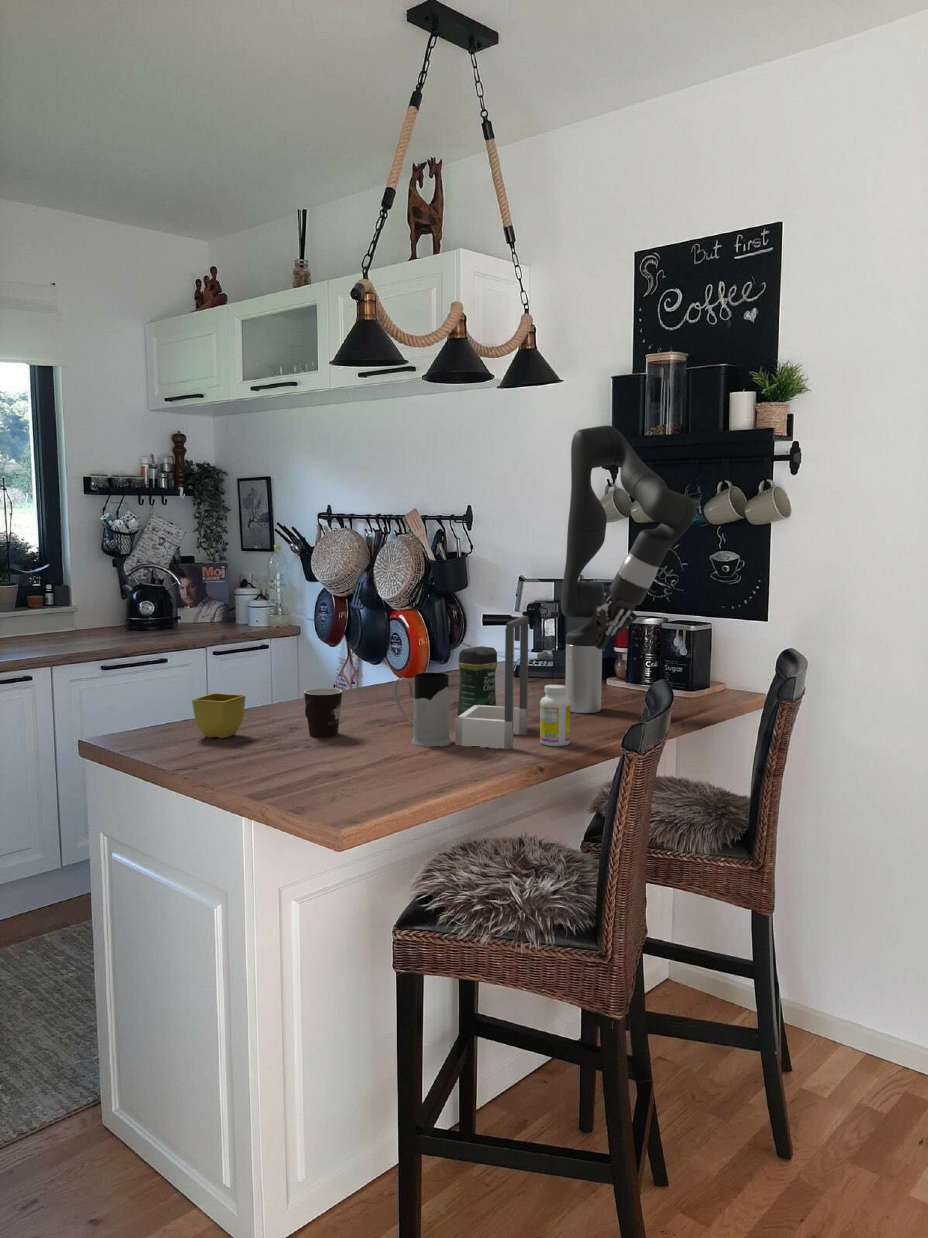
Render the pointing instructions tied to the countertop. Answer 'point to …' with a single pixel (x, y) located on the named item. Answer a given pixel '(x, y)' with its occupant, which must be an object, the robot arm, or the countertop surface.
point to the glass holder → (429, 709)
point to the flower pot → (219, 714)
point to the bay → (499, 721)
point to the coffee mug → (323, 711)
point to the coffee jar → (477, 677)
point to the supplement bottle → (555, 716)
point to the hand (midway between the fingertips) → (598, 647)
